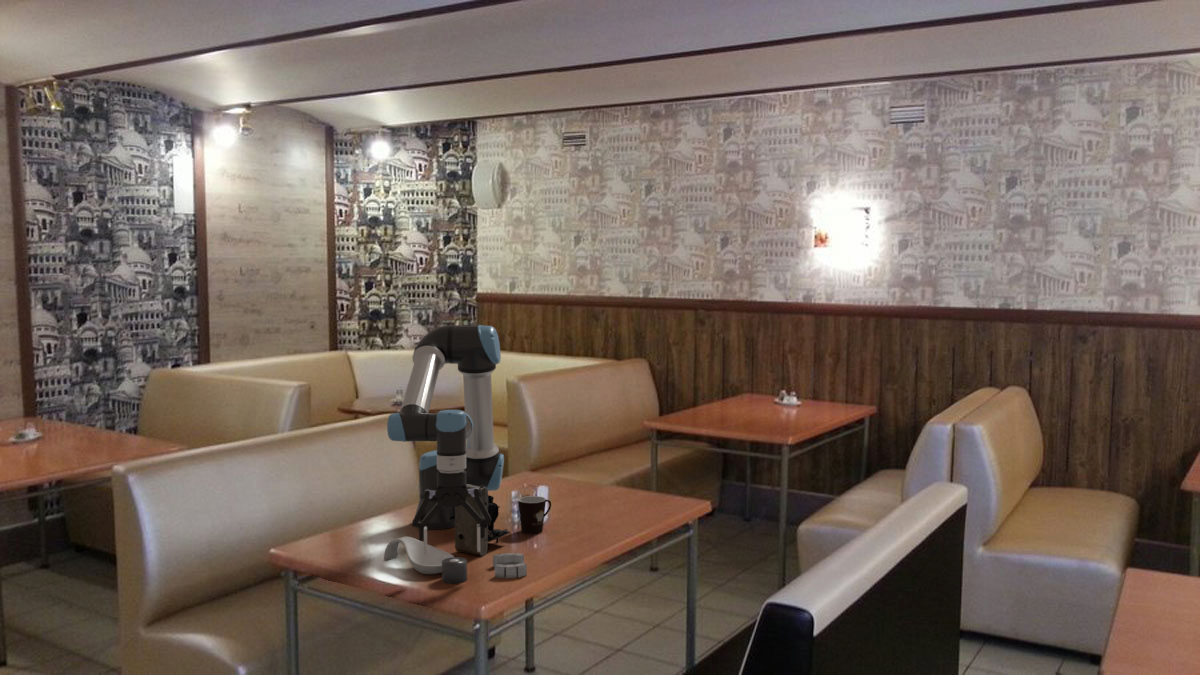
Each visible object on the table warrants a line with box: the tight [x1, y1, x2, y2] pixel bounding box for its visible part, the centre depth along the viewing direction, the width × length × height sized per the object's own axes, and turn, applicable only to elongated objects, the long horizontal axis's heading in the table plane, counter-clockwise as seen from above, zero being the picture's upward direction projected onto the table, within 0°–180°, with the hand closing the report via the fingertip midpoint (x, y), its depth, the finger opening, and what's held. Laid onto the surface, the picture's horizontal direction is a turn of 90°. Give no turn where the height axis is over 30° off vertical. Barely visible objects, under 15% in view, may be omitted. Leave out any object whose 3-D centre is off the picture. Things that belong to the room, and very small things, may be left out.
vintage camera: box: [454, 484, 512, 557], centre depth 262 cm, size 10×16×20 cm, turn 149°
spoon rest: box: [383, 536, 455, 575], centre depth 246 cm, size 24×12×7 cm, turn 53°
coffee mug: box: [517, 495, 552, 535], centre depth 280 cm, size 12×9×10 cm
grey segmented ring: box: [492, 552, 528, 579], centre depth 242 cm, size 12×8×3 cm
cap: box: [441, 556, 468, 585], centre depth 235 cm, size 6×6×5 cm
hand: (452, 551), depth 235 cm, fingers open, 13 cm apart
